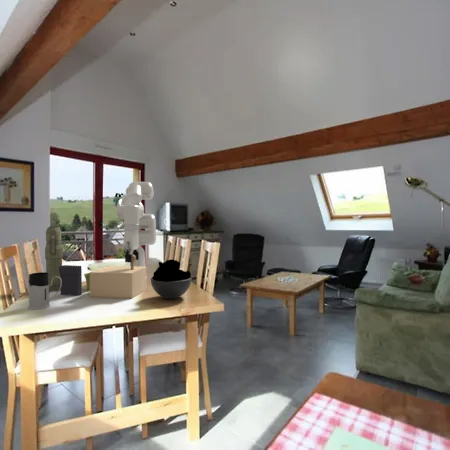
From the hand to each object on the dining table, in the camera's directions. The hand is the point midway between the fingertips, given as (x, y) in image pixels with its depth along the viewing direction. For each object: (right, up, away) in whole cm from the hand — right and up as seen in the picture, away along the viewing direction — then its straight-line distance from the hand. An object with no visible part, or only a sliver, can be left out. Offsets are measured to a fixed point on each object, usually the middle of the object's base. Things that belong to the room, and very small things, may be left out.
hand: (132, 260), depth 167 cm
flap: (-7, -5, +1) cm, 9 cm away
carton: (-7, -17, +1) cm, 19 cm away
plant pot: (-25, -17, +11) cm, 32 cm away
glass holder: (-32, -18, -24) cm, 44 cm away
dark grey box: (-31, -18, -1) cm, 36 cm away
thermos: (-46, -17, +10) cm, 50 cm away
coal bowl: (+22, -18, -9) cm, 30 cm away
